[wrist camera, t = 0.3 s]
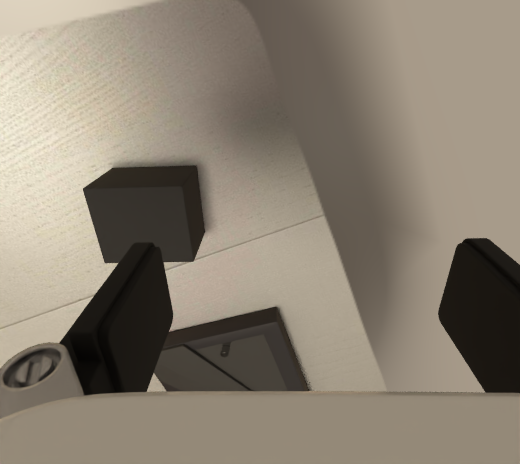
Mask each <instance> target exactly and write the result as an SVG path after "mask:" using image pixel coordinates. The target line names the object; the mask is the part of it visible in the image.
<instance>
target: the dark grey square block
mask: <svg viewBox="0 0 520 464" xmlns="http://www.w3.org/2000/svg"><path fill="white" fill-rule="evenodd" d="M83 191H84V195H85V198H86V201H87V205H88V208H89V211H90V215H91V218H92V222H93V225H94V228H95V232H96V235H97V238H98V242H99V245H100V248H101V252H102V255H103V259H104V262H105V263H119V262H120V261H121V259H122V258H123V257H124V255H125V254H126V253H127V251H128V250H129V249H130V247H131V246H132V244H133V243H136V242H153V243H154V245H155V247H160V249H161V253H162V258H163V262H193V261H194V259H195V257H196V254H197V251H198V249H199V246H200V244H201V241H202V238H203V236H204V233H205V229H204V221H203V213H202V205H201V197H200V189H199V182H198V174H197V167H196V166H170V167H135V168H112V169H111V170H109V171H108V172H106V173H105V174H103V175H102V176H100V177H99V178H98V179H96V180H95V181H93V182H92V183H90V184H89V185H87V186H86V187H85V188H83Z"/></svg>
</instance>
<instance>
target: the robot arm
mask: <svg viewBox="0 0 520 464" xmlns="http://www.w3.org/2000/svg"><path fill="white" fill-rule="evenodd" d="M438 315H439V320H440V322H441V324H442V325H443V327H444V328H445V330H446V332H447V333H448V335H449V336H450V338H451V339H452V341H453V342H454V344H455V346H456V347H457V349H458V350H459V352H460V353H461V355H462V356H463V358H464V360H465V361H466V363H467V364H468V366H469V367H470V369H471V371H472V372H473V374H474V375H475V377H476V378H477V380H478V381H479V383H480V384H481V386H482V388H483V389H484V391H485V392H486V393H473V392H471V393H470V392H468V393H467V392H354V391H176V392H147V389H148V386H149V383H150V381H151V378H152V375H153V373H154V370H155V367H156V365H157V362H158V359H159V356H160V354H161V351H162V348H163V346H164V343H165V340H166V338H167V335H168V332H169V330H170V327H171V324H172V320H173V310H172V305H171V300H170V294H169V289H168V284H167V279H166V274H165V268H164V263H163V258H162V253H161V249H160V247H155V245H154V243H153V242H136V243H133V244H132V246H131V247H130V249H129V250H128V251H127V253H126V254H125V255H124V257H123V258H122V259H121V261H120V262H119V263H118V265H117V266H116V267H115V269H114V270H113V272H112V273H111V274H110V276H109V277H108V278H107V280H106V281H105V282H104V284H103V285H102V286H101V288H100V289H99V290H98V292H97V293H96V294H95V296H94V297H93V298H92V300H91V301H90V302H89V304H88V305H87V306H86V308H85V309H84V311H83V312H82V313H81V315H80V316H79V317H78V319H77V320H76V321H75V323H74V324H73V325H72V327H71V328H70V330H69V331H68V332H67V334H66V335H65V336H64V338H63V339H62V340H61V342H60V343H50V342H49V343H43V344H38V345H35V346H32V347H29V348H27V349H25V350H23V351H21V352H19V353H18V354H16V355H15V356H13V357H12V358H11V359H9V360H8V361H7V362H6V363H5V364H4V365H3V366H2V367H1V368H0V464H520V265H519V264H518V263H517V262H516V261H514V260H513V259H512V258H511V257H509V256H508V255H507V254H506V253H505V252H504V251H502V250H501V249H500V248H499V247H498V246H496V245H495V244H494V243H493V242H492V241H490V240H489V239H487V238H473V239H472V238H471V239H465V240H464V241H463V242H462V243H460V244H458V246H457V247H456V250H455V254H454V257H453V261H452V264H451V268H450V272H449V275H448V279H447V282H446V286H445V289H444V293H443V297H442V300H441V304H440V307H439V312H438Z"/></svg>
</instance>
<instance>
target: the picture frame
mask: <svg viewBox="0 0 520 464" xmlns="http://www.w3.org/2000/svg"><path fill="white" fill-rule="evenodd" d="M154 373H155V375H156V376H157V378H158V379H159V380H160V382H161V383H162V385H163V386H164V388H165V389H166V391H167V392H176V391H309V389H308V387H307V384H306V382H305V379H304V376H303V374H302V371H301V369H300V366H299V364H298V361H297V358H296V356H295V353H294V351H293V348H292V345H291V343H290V340H289V338H288V335H287V333H286V330H285V327H284V325H283V322H282V320H281V317H280V314H279V312H278V309H277V307H275V308H271V309H266V310H262V311H258V312H254V313H250V314H245V315H241V316H237V317H233V318H229V319H224V320H220V321H216V322H212V323H208V324H203V325H199V326H195V327H191V328H187V329H182V330H178V331H174V332H170V333H168V335H167V338H166V340H165V343H164V346H163V348H162V351H161V354H160V356H159V359H158V362H157V365H156V367H155V370H154Z"/></svg>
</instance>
